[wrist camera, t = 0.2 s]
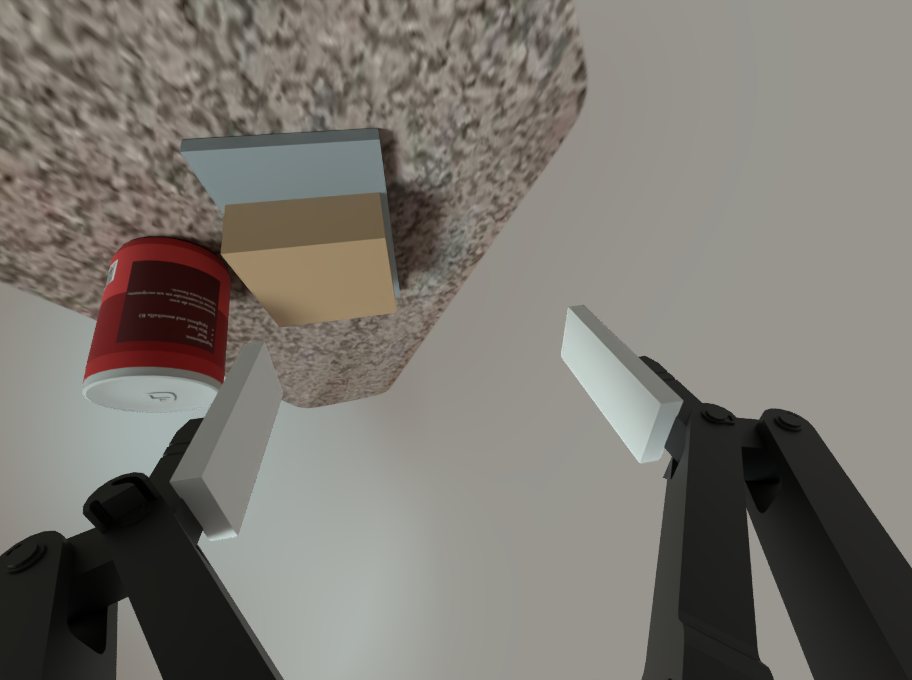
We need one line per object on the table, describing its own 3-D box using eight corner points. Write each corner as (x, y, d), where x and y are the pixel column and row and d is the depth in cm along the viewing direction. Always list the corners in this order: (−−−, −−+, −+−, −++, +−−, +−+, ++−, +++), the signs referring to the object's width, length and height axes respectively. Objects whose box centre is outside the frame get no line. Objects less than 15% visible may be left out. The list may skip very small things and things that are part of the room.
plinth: (181, 139, 21) (170, 206, 19) (377, 128, 23) (386, 188, 21) (289, 301, 37) (289, 346, 35) (399, 288, 39) (405, 331, 37)
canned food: (155, 297, 33) (135, 419, 29) (83, 237, 26) (41, 387, 22) (247, 289, 34) (241, 404, 30) (202, 229, 27) (186, 369, 23)
